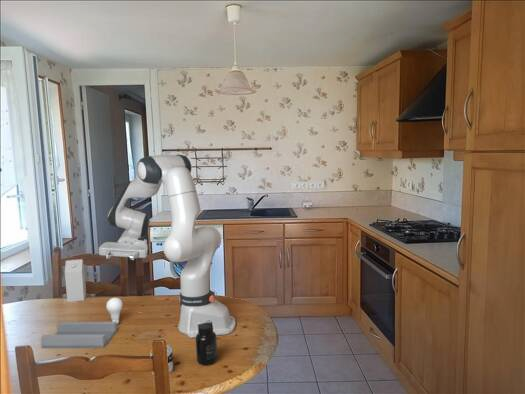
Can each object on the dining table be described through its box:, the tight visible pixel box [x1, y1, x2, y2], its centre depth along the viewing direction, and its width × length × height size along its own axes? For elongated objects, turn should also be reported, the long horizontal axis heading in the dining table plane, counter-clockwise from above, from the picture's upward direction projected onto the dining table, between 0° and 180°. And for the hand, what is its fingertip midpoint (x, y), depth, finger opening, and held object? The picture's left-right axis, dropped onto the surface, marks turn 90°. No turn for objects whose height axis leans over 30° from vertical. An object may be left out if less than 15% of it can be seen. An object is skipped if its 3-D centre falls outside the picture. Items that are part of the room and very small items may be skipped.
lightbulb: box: [105, 297, 124, 324], centre depth 148 cm, size 6×6×11 cm
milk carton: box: [64, 258, 87, 303], centre depth 174 cm, size 7×7×19 cm
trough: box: [40, 321, 118, 349], centre depth 137 cm, size 22×12×4 cm, turn 89°
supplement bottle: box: [195, 323, 218, 366], centre depth 122 cm, size 7×7×12 cm
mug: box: [149, 343, 174, 376], centre depth 118 cm, size 10×7×7 cm, turn 171°
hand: (119, 257), depth 155 cm, fingers open, 8 cm apart
